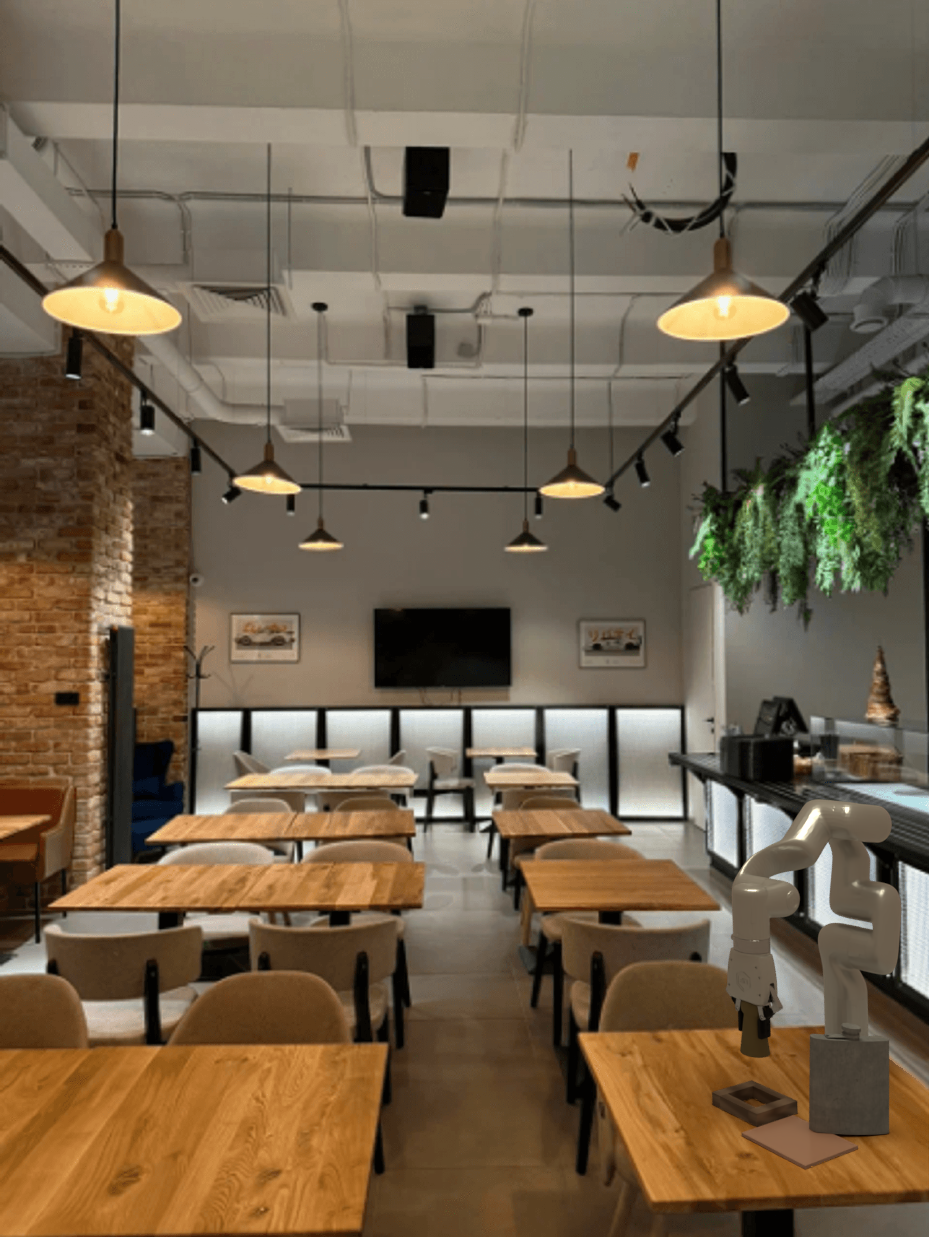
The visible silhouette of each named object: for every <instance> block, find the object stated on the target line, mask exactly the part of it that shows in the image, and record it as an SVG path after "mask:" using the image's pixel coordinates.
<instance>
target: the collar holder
mask: <svg viewBox="0 0 929 1237" xmlns="http://www.w3.org/2000/svg"><path fill="white" fill-rule="evenodd" d="M751 1099H752V1100H753V1099H754V1100H756V1101H759V1102H760V1103H762V1104H763V1105H758V1106H754V1105H752V1104H749V1103H748V1102H746V1101H748V1100H751ZM711 1101H712V1102H711V1103H712V1104H711V1105H713V1106H714V1107H716V1108H718V1109H720V1110H722V1111H725V1112H727V1113H728V1114H730V1115H732V1116H733V1117H737V1118H738V1119H741V1120H742V1121H744V1122H746V1123H748V1124H751V1125H752V1126H754V1127H755V1128H757V1127H760V1126H763V1125H766V1124H769V1123H771V1122H774V1121H777V1120H780V1119H783V1118H786V1117H789V1116H792V1115H794V1116H796V1115H797V1114H798V1111H799V1110H798V1100H796V1099H794V1098H792V1097H791V1096H787V1095H785V1094H784V1093H781V1092H779V1091H777V1090H774V1089H772V1088H770V1087H768V1086H766V1085H763V1084H761V1083H759V1082H757V1081H755V1080H753V1079H752V1080H748V1081H744V1082H740V1083H738V1084H734V1085H732V1086H728V1087H725V1088H721V1089H718V1090H715V1091H711Z"/></svg>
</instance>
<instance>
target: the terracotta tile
mask: <svg viewBox="0 0 929 1237" xmlns="http://www.w3.org/2000/svg"><path fill="white" fill-rule="evenodd" d="M741 1137H743V1138H745V1139H747V1140H748V1141H750V1142H753V1143H755V1144H756V1145H758V1146H760V1147H762V1148H764V1149H766V1150H768V1151H770V1152H772V1153H774V1154H776V1155H777V1156H779V1157H781V1158H782V1159H785V1160H787V1161H789V1162H791V1163H793V1164H794V1165H796V1166H798V1167H800V1168H802V1169H804V1170H807V1168H808V1169H810V1168H812V1167H811V1166H813V1167H816V1166H818V1165H820V1164H823V1163H825V1162H824V1161H826V1162H828V1161H831V1160H833V1159H835V1157H836V1158H838V1157H837V1156H839V1157H841V1156H844V1155H847V1154H849V1153H852V1152H854V1151H856V1150H858V1149H859V1145H858V1144H855V1143H854V1142H851V1141H850V1140H847V1139H846V1138H843V1137H841V1136H839V1135H838V1134H830V1133H820V1132H815V1131H812V1130H811V1129H810V1128H809V1121H807V1120H804V1119H802V1118H801V1117H799V1116H796V1115H792V1116H789V1117H786V1118H783V1119H780V1120H777V1121H774V1122H771V1123H768V1124H765V1125H762V1126H759V1127H754V1128H752V1129H751V1128H750V1129H748V1130H745V1131H743V1132H741ZM830 1159H831V1160H830ZM827 1160H828V1161H827ZM822 1162H823V1163H822ZM819 1163H820V1164H819ZM817 1164H818V1165H817ZM809 1167H810V1168H809Z"/></svg>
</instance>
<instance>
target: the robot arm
mask: <svg viewBox="0 0 929 1237" xmlns="http://www.w3.org/2000/svg"><path fill="white" fill-rule="evenodd" d="M892 824H893V823H892V818H891V816H890V813H889V812H888V811H887V809H886V808H884V807H883V806H881V805H876V804H865V803H859V802H858V803H856V802H850V801H844V800H843V801H841V800H830V799H822V798H821V799H819V798H818V799H812V800H808V801H807V802H806V803H805V804H804V805H803V806H802V808H801V809H800V811H799V812H798V813H797V815H796V817H795V818H794V820H793V822H792V823H791V825H790V826H789V828H788V829H787V831H786V832H785V833H784V836H783V837H782V838H781V840H779V841H776V842H774V843H772V844H770V845H768V846H766V847H764V848H762V849H760V850H758V851H756V852H755V853H754V854H752V855H751V856H750V857H748V858H747V860H746V861H745V862H744V863H743V865H742V867H741V868H740V869H739V871H738V873H737V874H736V876H735V878H734V880H733V882H732V884H731V885H732V886H731V913H732V914H731V915H732V916H731V917H732V918H731V919H732V934H731V935H730V939H731V941H732V944H733V945H732V947H731V948H730V949H729V950H730V951H729V955H728V961H727V985H726V987H725V992H726V993H727V994H728V995H729V997H730V998H731V1001H732V1002H733V1003H734V1005H735V1006H734V1009H735V1011H736V1012H737V1026H738V1027H737V1028H738V1031H739V1032H742V1027H743V1017H744V1013H743V1012H742V1010H741V1001H742V1000H743V1001H745V1002H748V1003H751V1004H753V1005H756V1006H757V1007H758V1012H759V1017H760V1019H758V1020H757V1025H758V1038H759V1039H761V1040H762V1039H765V1038H768V1039H769V1038H771V1035H772V1031H771V1029H772V1028H771V1027H772V1026H771V1019H772V1018H774V1015H776V1014H777V1012H780V1011H782V1010H783V1008H784V1007H783V1004H782V1002H781V1000H780V998H779V996H778V992H779V991H778V979H777V978H778V977H777V971H776V966H775V965H776V964H775V960H774V956H773V953H772V951H771V950H772V949H771V924H770V919H771V918H785V917H789V916H792V915H793V914H794V913H795V912H796V911H797V910H798V908H799V906H800V901H801V896H800V893H799V890H798V889H797V887H796V886H795V885H793V884H792V883H790V882H789V881H785V880H780V879H777V878H771V877H774V876H776V875H779V874H783V873H788V872H794V871H799V870H803V869H807V868H810V867H812V866H813V865H815V864H816V863H817V862H818V859H819V858H820V856H821V855H822V853H823V851H824V849H825V848H826V846H827V844H828V845H829V848H830V850H831V855H832V856H831V857H832V858H831V871H830V874H831V875H830V884H829V898H828V901H829V908H830V910H831V912H832V913H833V914H835V915H837V916H839V917H843V918H845V919H850V920H854V921H855V920H856V921H860V922H863V923H864V922H866V923H870V924H871V925H872V928H868V927H862V926H859V925H858V926H857V925H854V924H847V923H843V922H830V923H826V924H825V925H824V926H823V927H822V928H820V930H819V933H818V935H817V936H818V937H817V944H818V952H819V955H820V961H821V967H822V974H823V975H822V976H823V978H822V979H823V1007H824V1008H823V1009H824V1010H823V1011H824V1012H823V1015H824V1034H842V1031H844V1030H842V1029H841V1025H842V1024H843V1023H850V1024H855V1025H858V1026H860V1027H861V1032H860V1033H859V1034H860V1036H870V1035H869V1010H868V1008H869V1006H868V1005H869V1004H868V1003H869V1002H868V1001H869V1000H868V986H867V983H866V980H865V977H864V976H863V974H862V972H861V971H863V972H867V973H871V974H876V975H880V976H881V975H882V976H885V975H890V974H891V973H893V972H894V970H895V968H896V966H897V963H898V958H899V951H900V950H899V948H900V934H901V924H902V922H901V921H902V901H901V897H900V894H899V892H898V890H897V889H896V888H895V887H894V886H893V885H891V884H889V883H885V882H881V881H877V880H876V881H875V880H871V878H870V877H871V874H870V873H871V857H870V853H869V852H868V850H867V848H866V846H865V844H864V843H882V842H884V841H885V840H886V839H888V837H889V836H890V834H891V831H892ZM764 1006H765V1008H766V1011H764Z"/></svg>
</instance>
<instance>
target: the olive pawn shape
mask: <svg viewBox="0 0 929 1237" xmlns="http://www.w3.org/2000/svg"><path fill="white" fill-rule="evenodd" d="M741 1010H742V1012H743V1013H744V1017H743V1027H742V1031H741V1037H740V1038H741V1039H740V1048H739V1051H740V1053H741V1054H742V1055H744V1056H746V1057H750V1058H757V1059H762V1058H763V1059H764V1058H767V1057H770V1056H771V1049H770V1044H769V1043H770V1042H769V1037H768V1038H765V1039H762V1040H761V1039H759V1038H758V1025H757V1020H758V1019H760V1017H759V1012H758V1007H757V1006H756V1005H753V1004H751V1003H748V1002H745V1001H743V1000H742V1001H741ZM764 1011H766V1008H765V1006H764Z"/></svg>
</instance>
